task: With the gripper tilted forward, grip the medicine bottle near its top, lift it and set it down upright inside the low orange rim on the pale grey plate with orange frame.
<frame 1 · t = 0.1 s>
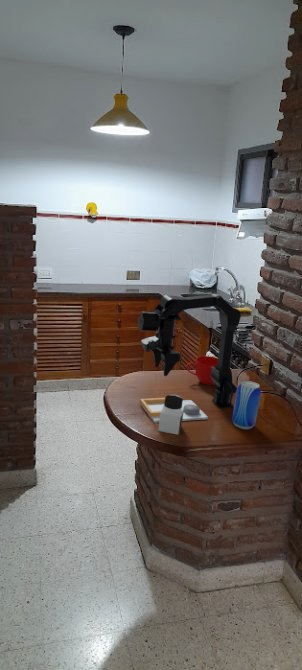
hand: (160, 371, 181), 15 cm above the worktop, tool pointing down, fingers open, 9 cm apart
medicine bottle: (169, 429, 170), on the worktop
ceramic cup: (203, 382, 216), on the worktop
beer can: (242, 425, 179), on the worktop
plate with orange frame: (173, 411, 184), on the worktop
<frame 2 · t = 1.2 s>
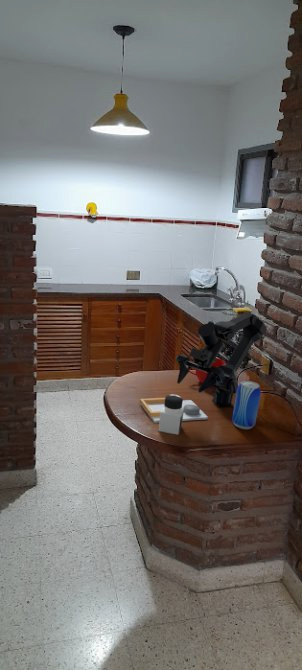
hand: (188, 387, 172), 13 cm above the worktop, tool tilted 45°, fingers open, 9 cm apart
nothing on the worktop moved.
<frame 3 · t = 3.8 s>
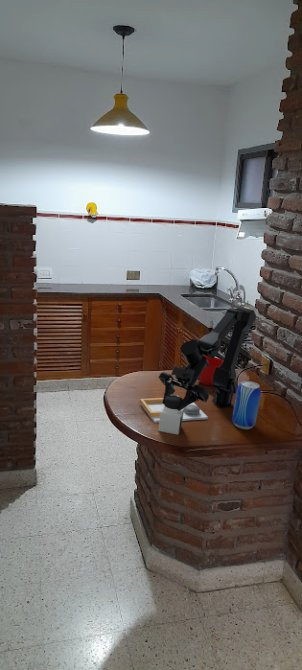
hand: (170, 407, 167), 9 cm above the worktop, tool tilted 45°, fingers closed on medicine bottle, 6 cm apart
medicine bottle: (169, 429, 170), on the worktop, touching gripper
everything else where it was.
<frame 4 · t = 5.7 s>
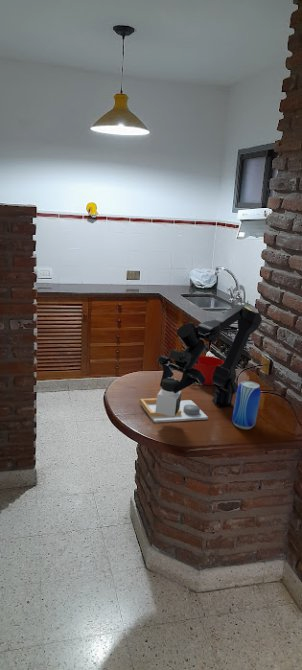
hand: (167, 389, 169), 13 cm above the worktop, tool tilted 45°, fingers closed on medicine bottle, 6 cm apart
medicine bottle: (167, 411, 173), point 4 cm above the worktop, touching gripper
everything else where it was.
when the fingers open (11 cm above the worktop, at t = 7.6 s): medicine bottle stays where it is, resting on plate with orange frame.
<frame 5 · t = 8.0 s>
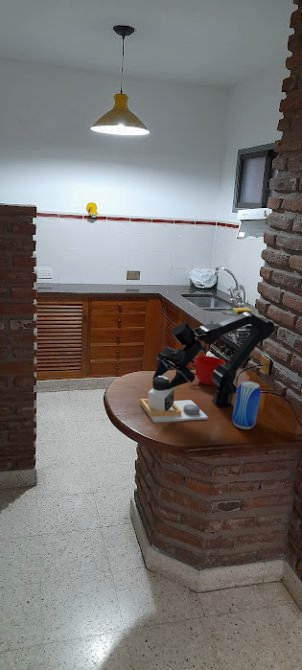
hand: (160, 384, 179), 11 cm above the worktop, tool tilted 45°, fingers open, 9 cm apart
medicine bottle: (161, 407, 183), point 1 cm above the worktop, touching plate with orange frame
everything else where it was.
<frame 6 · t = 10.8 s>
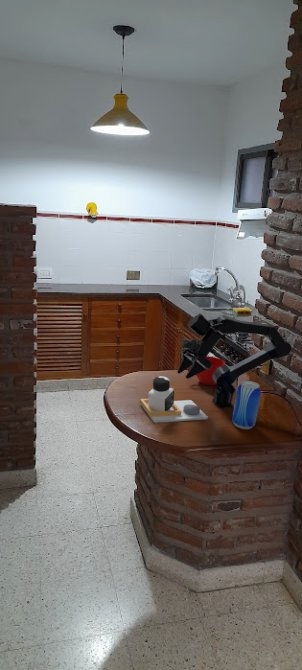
hand: (182, 375, 185), 13 cm above the worktop, tool tilted 40°, fingers open, 9 cm apart
nothing on the worktop moved.
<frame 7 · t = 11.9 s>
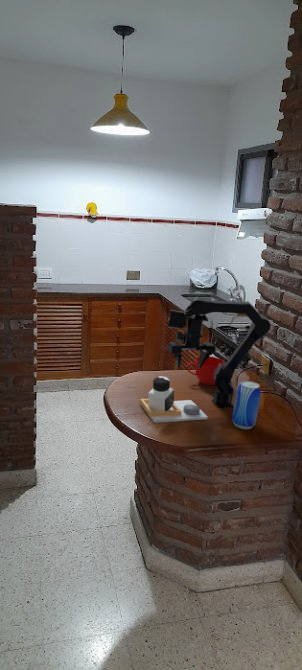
hand: (188, 368, 192), 13 cm above the worktop, tool pointing down, fingers open, 9 cm apart
nothing on the worktop moved.
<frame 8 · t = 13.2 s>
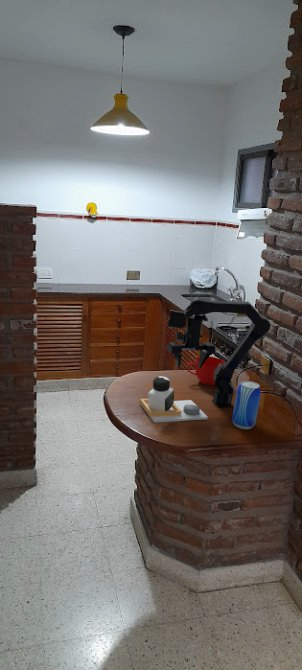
hand: (188, 368, 192), 13 cm above the worktop, tool pointing down, fingers open, 9 cm apart
nothing on the worktop moved.
at the end: medicine bottle 0.4 cm from the target spot on the plate with orange frame, point 1.4 cm above the plate with orange frame's base; medicine bottle tilted 13°; the gripper is holding nothing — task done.
